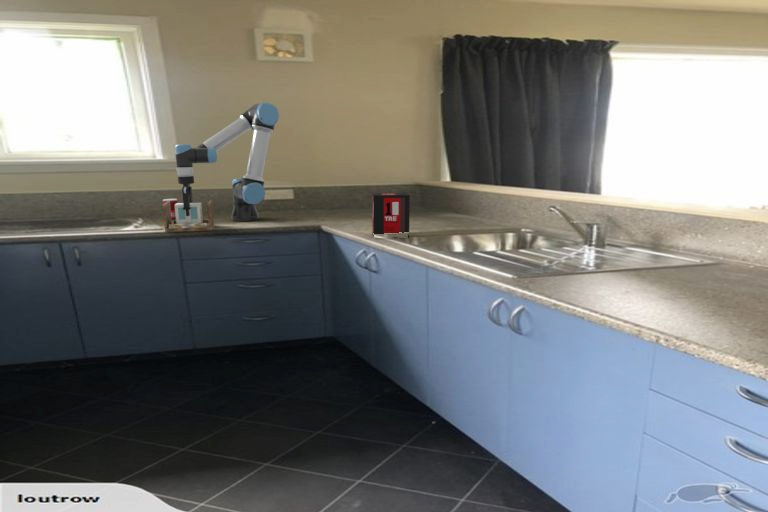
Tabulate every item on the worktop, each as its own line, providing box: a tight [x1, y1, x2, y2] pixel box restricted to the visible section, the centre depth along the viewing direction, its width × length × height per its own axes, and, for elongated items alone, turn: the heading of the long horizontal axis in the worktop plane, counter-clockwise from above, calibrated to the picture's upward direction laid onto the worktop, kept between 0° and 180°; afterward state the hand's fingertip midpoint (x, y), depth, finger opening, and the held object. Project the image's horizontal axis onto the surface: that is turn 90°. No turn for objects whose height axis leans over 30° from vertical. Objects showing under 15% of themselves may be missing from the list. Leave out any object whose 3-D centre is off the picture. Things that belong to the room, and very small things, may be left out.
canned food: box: [162, 198, 179, 220], centre depth 288 cm, size 8×8×11 cm
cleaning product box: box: [371, 192, 411, 234], centre depth 233 cm, size 16×9×20 cm, turn 95°
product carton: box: [175, 202, 204, 224], centre depth 255 cm, size 12×6×10 cm, turn 102°
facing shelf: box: [161, 199, 215, 233], centre depth 255 cm, size 22×14×14 cm, turn 102°
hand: (189, 221), depth 256 cm, fingers closed on product carton, 6 cm apart
